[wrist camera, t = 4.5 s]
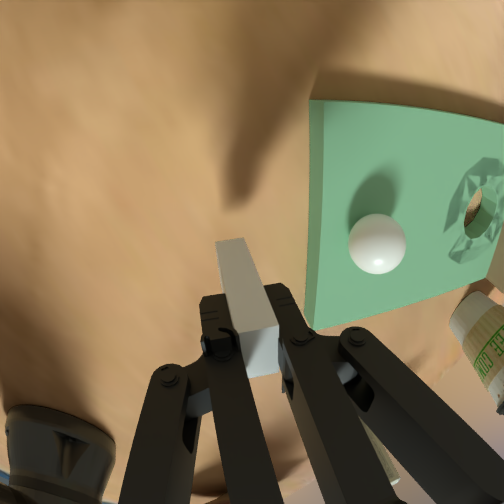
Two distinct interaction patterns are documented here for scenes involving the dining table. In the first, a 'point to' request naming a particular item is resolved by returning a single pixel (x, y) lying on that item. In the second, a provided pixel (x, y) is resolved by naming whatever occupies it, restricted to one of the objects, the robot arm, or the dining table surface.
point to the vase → (221, 500)
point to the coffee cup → (483, 340)
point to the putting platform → (400, 204)
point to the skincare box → (382, 456)
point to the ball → (377, 243)
